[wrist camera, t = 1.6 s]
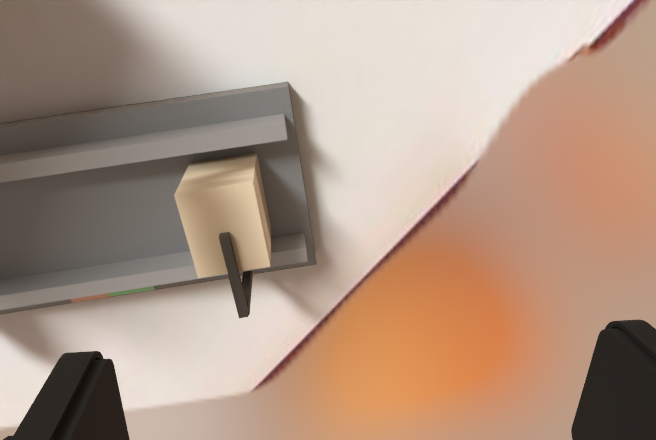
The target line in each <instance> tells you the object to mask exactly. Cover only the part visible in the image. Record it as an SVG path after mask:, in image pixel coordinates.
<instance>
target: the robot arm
mask: <svg viewBox="0 0 656 440" xmlns="http://www.w3.org/2000/svg"><path fill="white" fill-rule="evenodd" d="M572 439H573V440H656V329H655V328H653V327H652V326H651V325H650V324H648V323H647V322H645V321H643V320H626V321H613V322H610V323H609V324H608V325H607V326H606V328H605V330H602V331H601V332H600V334H599V336H598V340H597V343H596V346H595V350H594V353H593V356H592V360H591V364H590V367H589V370H588V374H587V377H586V381H585V384H584V388H583V391H582V394H581V398H580V401H579V405H578V408H577V412H576V416H575V419H574V422H573V426H572ZM3 440H129V435H128V431H127V426H126V421H125V416H124V411H123V407H122V402H121V397H120V392H119V388H118V383H117V378H116V373H115V369H114V364H113V361H112V360H111V359H103V356H102V354H101V353H100V352H98V351H93V352H76V353H65V354H63V355H62V356H61V357H60V359H59V360H58V362H57V364H56V365H55V367H54V369H53V370H52V372H51V374H50V375H49V377H48V379H47V380H46V382H45V384H44V385H43V387H42V389H41V390H40V392H39V394H38V395H37V397H36V399H35V401H34V402H33V404H32V406H31V407H30V409H29V411H28V412H27V414H26V416H25V417H24V419H23V421H22V422H21V424H20V426H19V427H18V429H17V431H16V432H15V434H14V436H8V437H6V438H5V439H3Z"/></svg>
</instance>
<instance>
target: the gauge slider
mask: <svg viewBox="0 0 656 440" xmlns="http://www.w3.org/2000/svg"><path fill="white" fill-rule="evenodd" d="M174 197H175V200H176V204H177V207H178V210H179V214H180V217H181V221H182V224H183V228H184V231H185V235H186V238H187V242H188V245H189V248H190V252H191V255H192V259H193V262H194V266H195V269H196V273H197V276H198V278H202V277H209V276H215V275H221V274H228V276H229V280H230V284H231V288H232V292H233V295H234V299H235V303H236V307H237V311H238V315H239V318H243V317H248V315H249V313H250V300H251V288H252V275H253V272H252V270H253V269H259V268H266V267H270V263H271V223H270V218H269V213H268V208H267V203H266V198H265V193H264V188H263V183H262V178H261V173H260V168H259V163H258V158H257V153H251V154H244V155H237V156H231V157H224V158H218V159H211V160H204V161H198V162H191V163H189V165H188V167H187V169H186V171H185V174H184V176H183V178H182V180H181V182H180V184H179V186H178V188H177V190H176V192H175V194H174ZM247 270H251V271H247ZM240 271H245V272H243V278H242V282H241V278H240V274H239V272H240Z"/></svg>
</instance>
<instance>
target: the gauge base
mask: <svg viewBox="0 0 656 440" xmlns="http://www.w3.org/2000/svg"><path fill="white" fill-rule="evenodd" d="M251 153H257V158H258V163H259V168H260V173H261V178H262V183H263V188H264V193H265V198H266V203H267V208H268V213H269V218H270V223H271V263H270V267H266V268H259V269H253V270H252V272H253V274H257V273H264V272H270V271H276V270H283V269H289V268H295V267H302V266H308V265H314V264H316V257H315V251H314V245H313V238H312V232H311V226H310V219H309V213H308V207H307V200H306V194H305V188H304V181H303V175H302V169H301V162H300V156H299V150H298V143H297V137H296V131H295V124H294V118H293V112H292V105H291V99H290V93H289V86H288V82H284V83H277V84H270V85H263V86H256V87H249V88H243V89H236V90H229V91H222V92H215V93H208V94H202V95H195V96H188V97H181V98H174V99H167V100H160V101H154V102H147V103H140V104H133V105H126V106H119V107H112V108H106V109H99V110H92V111H85V112H78V113H71V114H64V115H58V116H51V117H44V118H37V119H30V120H23V121H16V122H10V123H3V124H0V314H5V313H12V312H18V311H24V310H31V309H37V308H43V307H50V306H56V305H62V304H68V303H75V302H81V301H87V300H94V299H100V298H106V297H113V296H119V295H125V294H131V293H138V292H144V291H150V290H157V289H163V288H169V287H176V286H182V285H188V284H194V283H201V282H207V281H213V280H220V279H226V278H229V276H228V274H221V275H215V276H209V277H202V278H198V276H197V273H196V269H195V266H194V262H193V259H192V255H191V252H190V248H189V245H188V242H187V238H186V235H185V231H184V228H183V224H182V221H181V217H180V214H179V210H178V207H177V204H176V200H175V197H174V194H175V192H176V190H177V188H178V186H179V184H180V182H181V180H182V178H183V176H184V174H185V171H186V169H187V167H188V165H189V163H191V162H198V161H204V160H211V159H218V158H224V157H231V156H237V155H244V154H251ZM247 271H251V270H247ZM243 272H245V271H240V272H239V274H240V276H243Z"/></svg>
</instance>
